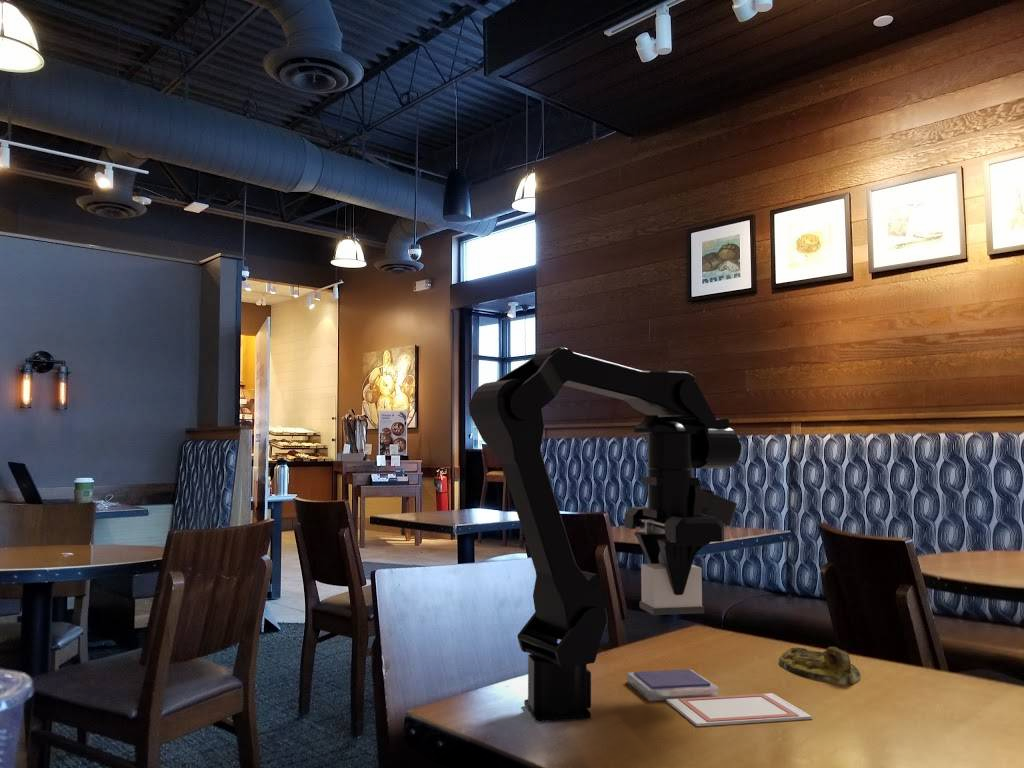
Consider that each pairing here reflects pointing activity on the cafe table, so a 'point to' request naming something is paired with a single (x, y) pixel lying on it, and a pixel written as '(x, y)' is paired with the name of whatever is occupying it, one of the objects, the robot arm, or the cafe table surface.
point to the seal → (821, 665)
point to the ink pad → (671, 684)
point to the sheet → (737, 709)
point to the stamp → (669, 591)
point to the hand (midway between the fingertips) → (671, 591)
